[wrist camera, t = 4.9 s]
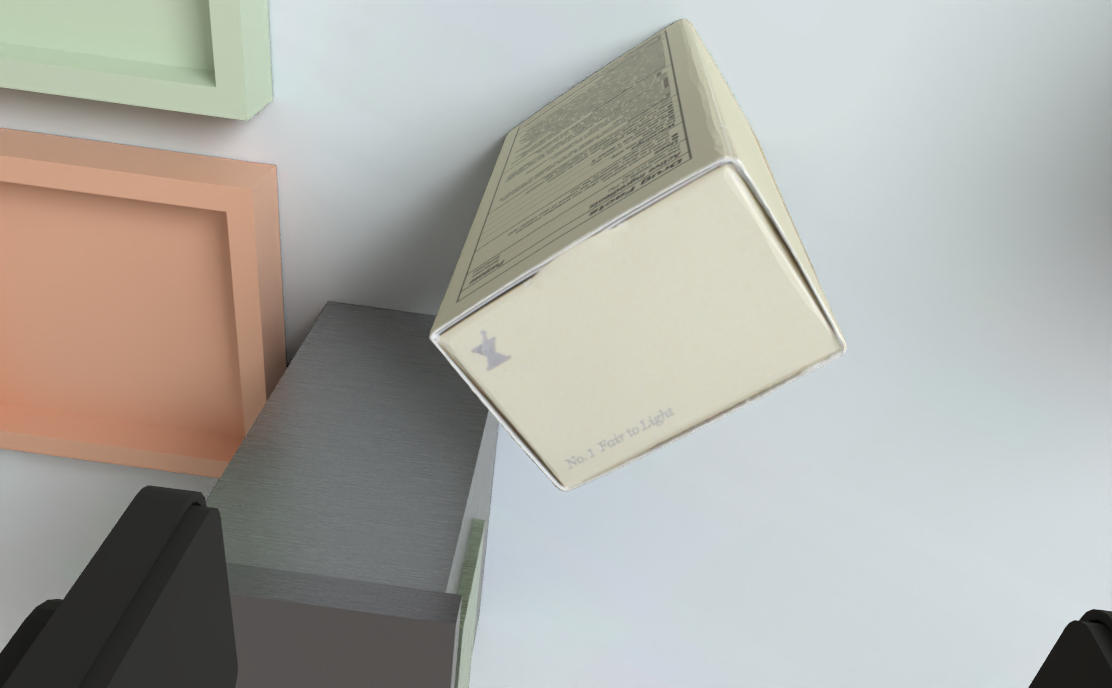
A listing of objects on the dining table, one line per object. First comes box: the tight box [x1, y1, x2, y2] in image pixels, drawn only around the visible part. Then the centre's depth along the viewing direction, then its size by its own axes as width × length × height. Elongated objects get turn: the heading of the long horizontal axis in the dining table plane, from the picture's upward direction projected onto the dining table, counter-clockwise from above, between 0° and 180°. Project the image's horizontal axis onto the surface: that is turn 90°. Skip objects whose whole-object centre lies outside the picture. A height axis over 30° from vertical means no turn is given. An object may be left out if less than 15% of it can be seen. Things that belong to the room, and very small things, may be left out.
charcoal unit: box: [206, 302, 499, 688], centre depth 28 cm, size 7×15×13 cm, turn 173°
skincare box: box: [429, 19, 847, 491], centre depth 21 cm, size 6×4×12 cm
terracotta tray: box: [0, 128, 287, 478], centre depth 29 cm, size 11×11×2 cm
